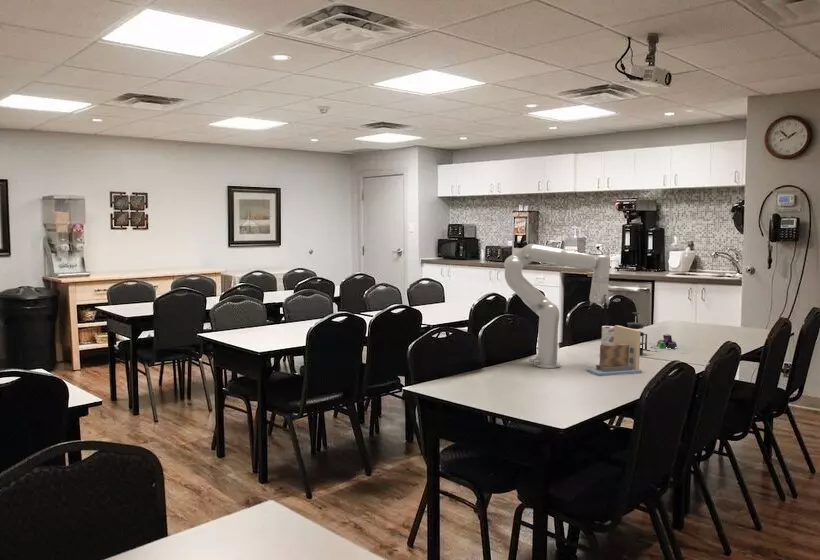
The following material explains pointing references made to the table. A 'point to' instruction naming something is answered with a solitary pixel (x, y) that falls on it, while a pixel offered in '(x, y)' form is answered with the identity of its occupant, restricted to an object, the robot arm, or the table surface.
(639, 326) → the french press
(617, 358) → the door
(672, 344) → the mineral sample
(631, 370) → the cabinet side
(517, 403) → the table surface
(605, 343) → the candy bar box
